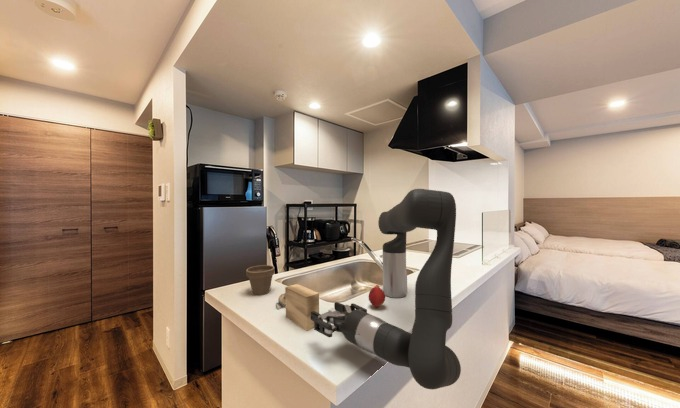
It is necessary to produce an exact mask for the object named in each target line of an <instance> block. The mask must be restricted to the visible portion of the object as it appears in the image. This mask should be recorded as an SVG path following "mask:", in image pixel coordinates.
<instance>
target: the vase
mask: <svg viewBox="0 0 680 408" xmlns="http://www.w3.org/2000/svg"><path fill="white" fill-rule="evenodd" d="M275 305H276V310H280V309H282V306H283V305H286V301H285V293H280V295H279V296H278V299H277V302H276V303H275Z"/></svg>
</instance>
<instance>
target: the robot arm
mask: <svg viewBox="0 0 680 408" xmlns="http://www.w3.org/2000/svg"><path fill="white" fill-rule="evenodd" d="M456 220H457V204H456V200H455V197H454V195H453V194H452V193H450V192H448V191H444V190H436V189H434V190H433V189H426V188H414V189H411V190H410V191H409V192H408V193H407V194H406V195H405V196H404V198H403V199H402V200H401V202H399V203H398V204H396V205H395V206H393V207H391V208H390V209H389V210H387V211H383V212H382V213H380V215H379V217H378V221H377V222H378V229H379V231H380V233H381V234H383V235H396V237H394V238H393V239H391V240H390V241H387V242H384V243H383V245H382V290H383V292H384V294H385V297H388V298H394V299H396V298H397V299H398V298H399V299H400V298H404V297H406V296H407V293H408V269H407V233H408V232H412V231H414V230H416V229H417V228H419V229H425V230H435V231H436V240H435V245H434V248H433V250H432V252H431V254H430V256H429V257H428V258H427V260H426V261H425V263H424V264H423V266H422V267H421V269H420V270H419V273H418V276H417V277H416V281H415V285H414V286H415V287H414V304H415V305H414V308H415V309H414V315H415V317H414V322H413V326H412V329H411V332H409V331H407V330H404V329H403V328H400V327H398V326H396V325H393V324H391V323H389V322H387V321H385V320H384V319H382V318H380V317H377V316H375V315H373V314H370V313H368V309H367V308H365V307H362V306H361V305H357V304H356V303H350V305H349V304H343V303H341V302H338V301H335V302H334V307H333V308H334V309H335V310H336V311H338V312H341V313H339V314H328V315H327V316H325V315H321V314H322V313H321V314H320V312H319V313H317V312H315V311H312V312H311V320H312V321H314V328H313V330H314V331H316V332H317V333H320V334H321V335H324V336H325V337H327V338H332V337H333V333H335V332H338V333H342V334H343V337H344V338H345V340H347V341H348V342H350V343H352V344H354V345H355V346H357V347H359V348H360V349H362V350H363V351H366V352H368V353H369V354H372V355H375V356H377V357H379V358H380V359H382V360H384V361H385V362H388V363H389V364H392V365H394V366H397V367H406V368H408V369H409V371H410V373H411V376H412V377H413V379H414V381H415V382H416V383H417V384H418V385H419V386H420V387H422V388H424V389H426V390H437V389H441V388H446V387H449V386H452V385H454V384H455V383H456V382H457V381H458V380H459V379H460V376H461V373H462V371H461V370H462V367H461V363H460V360H459V358H458V356H457V354H456V353H455V352H454V351H453V349H451V348H450V347H449V346H447V345H446V341H447V340H446V339H447V332H448V330H450V329H451V328H452V326H453V306H452V305H453V304H452V301H453V299H452V265H453V254H454V248H455V247H454V245H455V235H456V234H455V233H456V222H457V221H456ZM331 318H333V323H331Z"/></svg>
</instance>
